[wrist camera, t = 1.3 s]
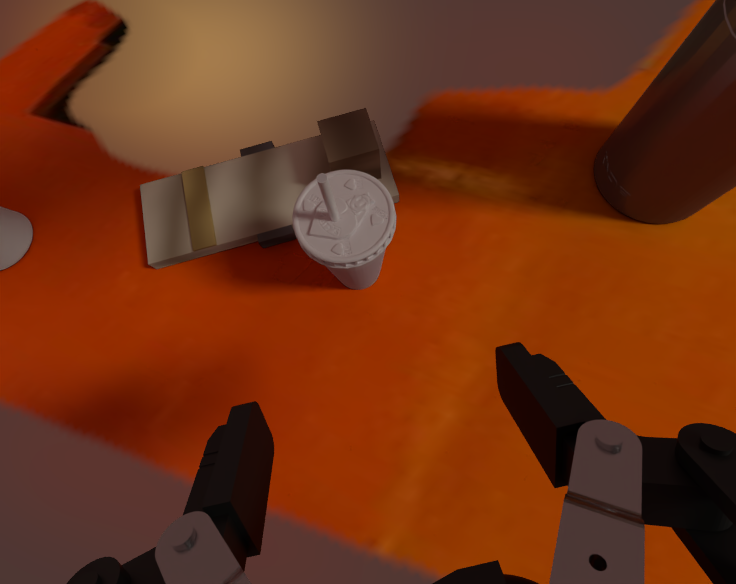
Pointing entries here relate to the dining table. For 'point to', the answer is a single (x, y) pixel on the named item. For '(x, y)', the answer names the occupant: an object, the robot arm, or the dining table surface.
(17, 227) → the cosmetic bottle
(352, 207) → the white drink cup
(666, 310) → the dining table surface
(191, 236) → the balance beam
